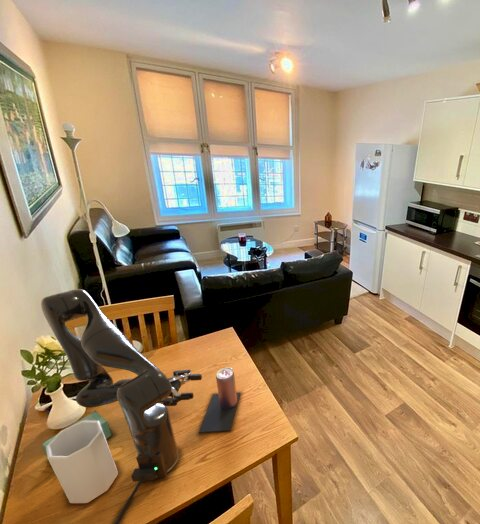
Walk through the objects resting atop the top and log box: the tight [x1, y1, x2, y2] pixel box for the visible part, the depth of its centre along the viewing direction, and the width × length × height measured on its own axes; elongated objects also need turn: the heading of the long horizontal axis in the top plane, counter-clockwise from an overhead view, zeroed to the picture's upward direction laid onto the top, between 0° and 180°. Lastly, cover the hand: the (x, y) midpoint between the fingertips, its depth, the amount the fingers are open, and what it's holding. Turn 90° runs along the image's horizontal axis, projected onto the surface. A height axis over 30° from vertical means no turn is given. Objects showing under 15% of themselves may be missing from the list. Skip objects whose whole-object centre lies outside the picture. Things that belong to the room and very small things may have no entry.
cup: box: [46, 421, 119, 504], centre depth 78 cm, size 11×11×18 cm
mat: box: [199, 392, 241, 434], centre depth 105 cm, size 16×10×1 cm, turn 8°
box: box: [41, 410, 113, 458], centre depth 89 cm, size 7×14×8 cm, turn 153°
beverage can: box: [215, 366, 237, 409], centre depth 105 cm, size 6×6×15 cm
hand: (197, 385), depth 103 cm, fingers open, 8 cm apart
